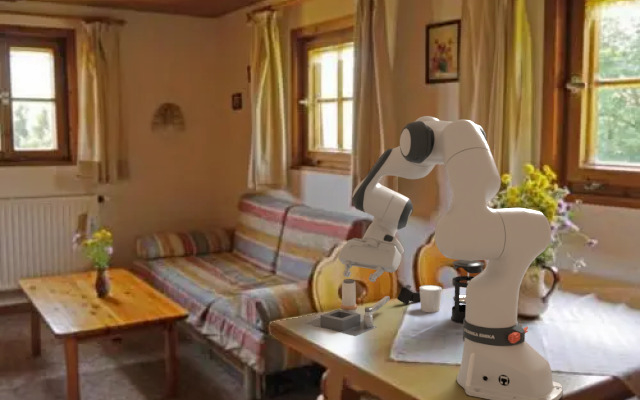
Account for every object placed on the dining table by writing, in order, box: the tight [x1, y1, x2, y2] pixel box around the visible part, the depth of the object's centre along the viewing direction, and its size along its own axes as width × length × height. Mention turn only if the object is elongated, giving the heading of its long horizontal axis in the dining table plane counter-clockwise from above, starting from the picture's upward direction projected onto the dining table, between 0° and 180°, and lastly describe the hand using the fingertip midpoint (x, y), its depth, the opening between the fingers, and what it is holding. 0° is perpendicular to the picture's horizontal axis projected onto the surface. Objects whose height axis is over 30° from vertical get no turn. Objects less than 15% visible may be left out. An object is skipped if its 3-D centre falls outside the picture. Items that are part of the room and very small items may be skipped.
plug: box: [340, 278, 358, 313], centre depth 199 cm, size 5×5×12 cm
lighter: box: [396, 284, 421, 305], centre depth 215 cm, size 9×2×6 cm
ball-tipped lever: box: [364, 295, 391, 316], centre depth 195 cm, size 18×2×2 cm, turn 156°
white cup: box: [419, 284, 443, 313], centre depth 208 cm, size 7×7×7 cm
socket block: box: [304, 308, 377, 337], centre depth 190 cm, size 18×10×4 cm, turn 50°
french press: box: [450, 260, 485, 325], centre depth 196 cm, size 12×9×23 cm
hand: (358, 278), depth 202 cm, fingers open, 8 cm apart
